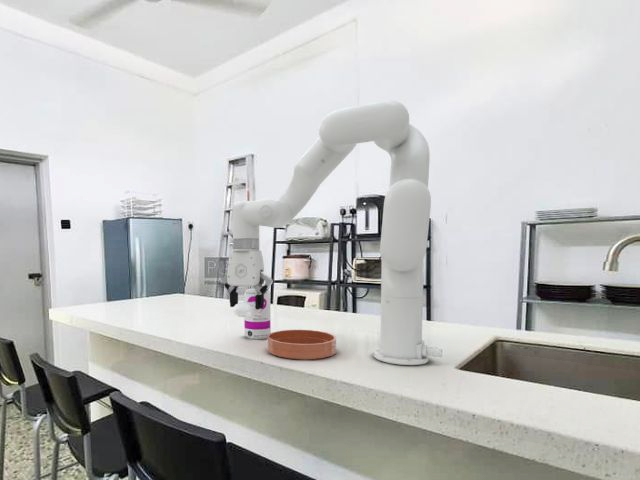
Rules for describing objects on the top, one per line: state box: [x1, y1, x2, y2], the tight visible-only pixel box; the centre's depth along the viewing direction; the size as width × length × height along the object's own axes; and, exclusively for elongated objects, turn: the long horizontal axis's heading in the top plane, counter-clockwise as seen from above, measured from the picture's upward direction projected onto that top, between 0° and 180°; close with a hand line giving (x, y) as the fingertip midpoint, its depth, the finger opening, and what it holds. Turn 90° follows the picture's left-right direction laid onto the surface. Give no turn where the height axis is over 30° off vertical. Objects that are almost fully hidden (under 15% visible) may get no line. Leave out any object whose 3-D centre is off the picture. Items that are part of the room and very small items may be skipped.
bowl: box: [266, 329, 337, 361], centre depth 105 cm, size 18×18×4 cm
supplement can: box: [243, 287, 272, 340], centre depth 123 cm, size 8×8×15 cm
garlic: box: [232, 301, 261, 318], centre depth 112 cm, size 8×7×4 cm
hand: (246, 307), depth 112 cm, fingers closed on garlic, 7 cm apart
